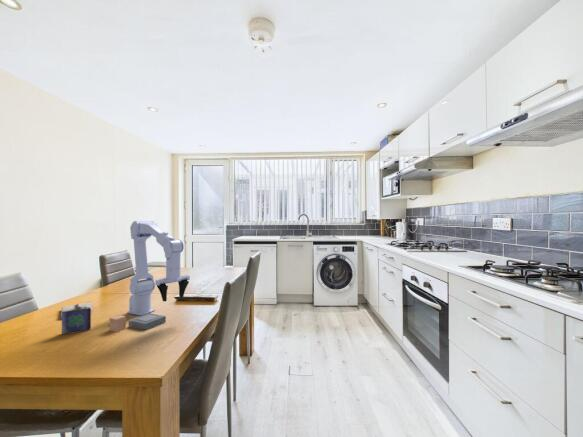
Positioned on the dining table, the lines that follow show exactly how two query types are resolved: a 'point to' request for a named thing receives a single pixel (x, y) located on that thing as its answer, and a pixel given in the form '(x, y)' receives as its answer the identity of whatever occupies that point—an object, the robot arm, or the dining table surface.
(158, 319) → the slate plinth
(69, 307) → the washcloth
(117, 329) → the terracotta block
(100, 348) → the dining table surface
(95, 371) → the dining table surface
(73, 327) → the flask
